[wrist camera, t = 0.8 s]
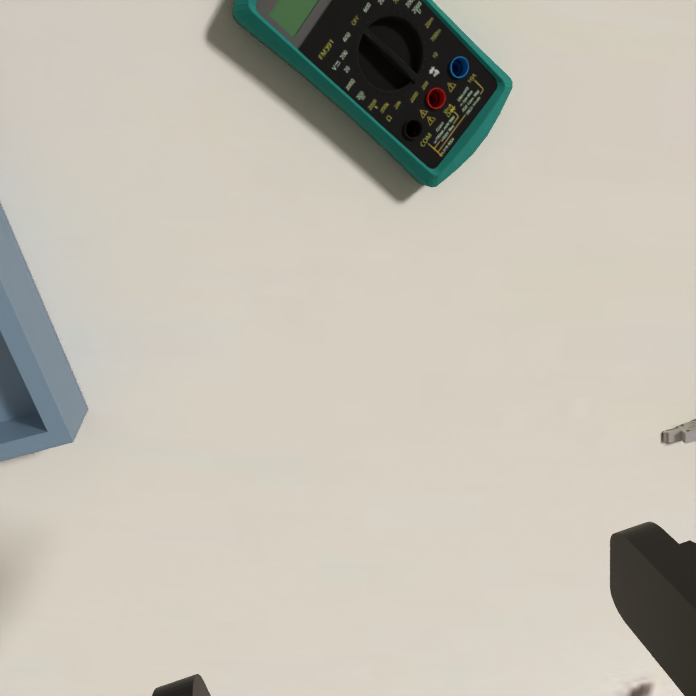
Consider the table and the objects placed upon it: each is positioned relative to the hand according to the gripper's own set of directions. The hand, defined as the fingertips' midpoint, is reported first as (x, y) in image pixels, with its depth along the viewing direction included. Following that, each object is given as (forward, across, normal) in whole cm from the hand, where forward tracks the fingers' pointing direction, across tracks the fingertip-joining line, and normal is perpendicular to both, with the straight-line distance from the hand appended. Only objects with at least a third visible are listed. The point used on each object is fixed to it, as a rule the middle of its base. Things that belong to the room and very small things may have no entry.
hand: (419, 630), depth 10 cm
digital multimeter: (+27, -8, -10) cm, 30 cm away
